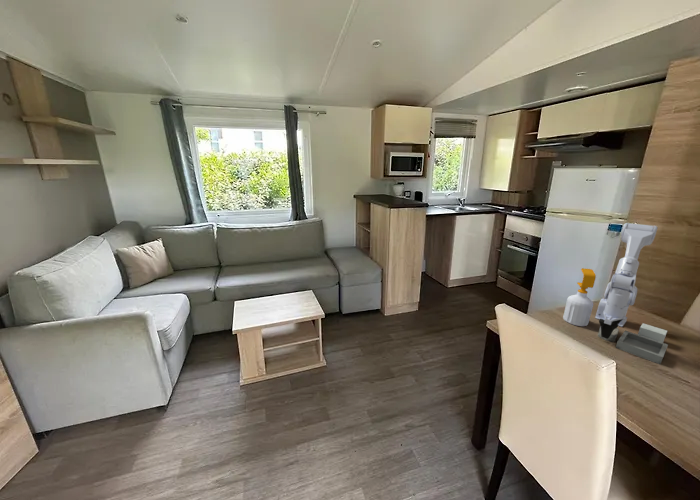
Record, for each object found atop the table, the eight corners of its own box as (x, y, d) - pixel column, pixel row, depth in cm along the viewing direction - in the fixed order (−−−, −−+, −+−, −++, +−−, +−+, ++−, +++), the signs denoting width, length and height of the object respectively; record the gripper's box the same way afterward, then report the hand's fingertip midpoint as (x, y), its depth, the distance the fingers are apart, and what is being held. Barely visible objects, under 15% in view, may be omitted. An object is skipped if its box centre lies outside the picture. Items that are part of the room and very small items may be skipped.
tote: (615, 347, 110) (617, 341, 109) (623, 336, 117) (625, 330, 116) (660, 364, 101) (662, 357, 100) (665, 351, 108) (668, 344, 107)
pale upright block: (636, 338, 117) (640, 327, 115) (639, 333, 120) (642, 323, 118) (661, 346, 111) (665, 335, 110) (663, 341, 114) (667, 330, 113)
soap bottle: (583, 317, 132) (596, 267, 124) (591, 328, 123) (606, 274, 116) (559, 314, 134) (571, 265, 127) (566, 324, 126) (579, 272, 119)
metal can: (596, 336, 117) (599, 326, 116) (599, 332, 120) (602, 321, 119) (613, 343, 113) (616, 332, 112) (616, 338, 116) (620, 327, 115)
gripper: (625, 313, 105) (615, 345, 109) (634, 302, 114) (624, 332, 117) (601, 306, 110) (592, 336, 114) (611, 296, 119) (602, 325, 123)
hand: (607, 334), depth 116 cm, fingers open, 7 cm apart
